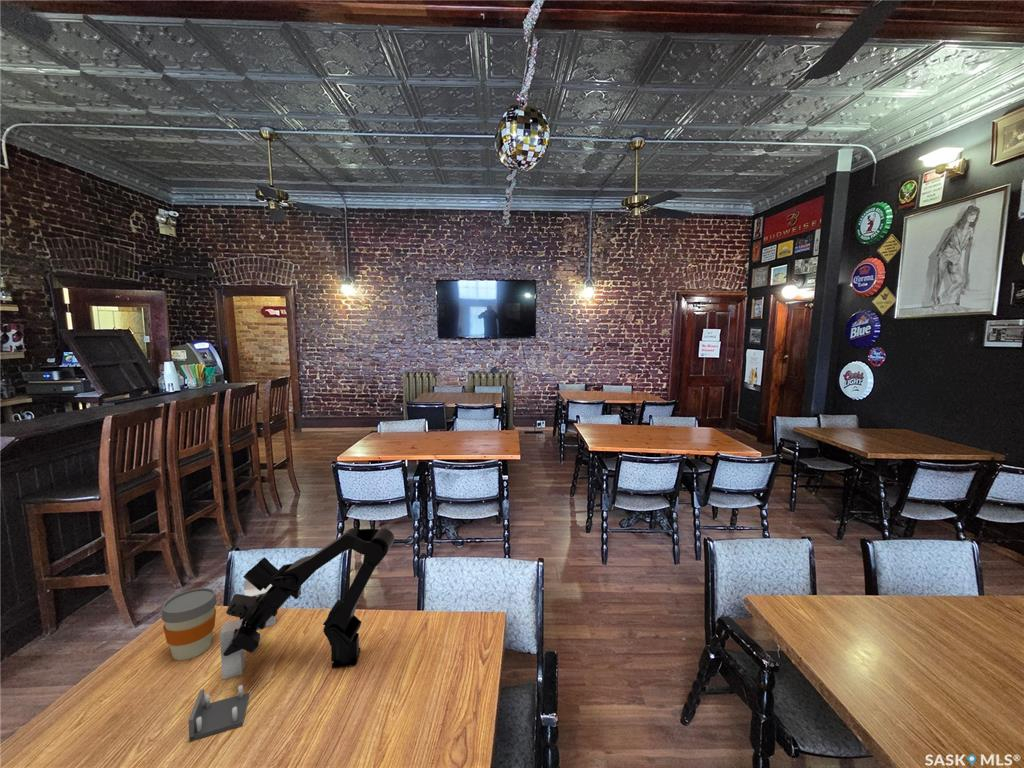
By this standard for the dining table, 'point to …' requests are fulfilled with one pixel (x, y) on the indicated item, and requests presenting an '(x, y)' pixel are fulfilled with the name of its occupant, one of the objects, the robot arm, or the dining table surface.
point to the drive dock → (216, 714)
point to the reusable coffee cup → (189, 622)
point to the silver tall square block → (235, 661)
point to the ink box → (253, 591)
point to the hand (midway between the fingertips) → (226, 649)
